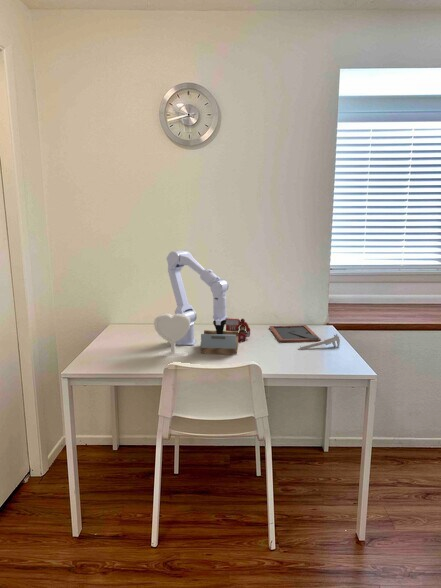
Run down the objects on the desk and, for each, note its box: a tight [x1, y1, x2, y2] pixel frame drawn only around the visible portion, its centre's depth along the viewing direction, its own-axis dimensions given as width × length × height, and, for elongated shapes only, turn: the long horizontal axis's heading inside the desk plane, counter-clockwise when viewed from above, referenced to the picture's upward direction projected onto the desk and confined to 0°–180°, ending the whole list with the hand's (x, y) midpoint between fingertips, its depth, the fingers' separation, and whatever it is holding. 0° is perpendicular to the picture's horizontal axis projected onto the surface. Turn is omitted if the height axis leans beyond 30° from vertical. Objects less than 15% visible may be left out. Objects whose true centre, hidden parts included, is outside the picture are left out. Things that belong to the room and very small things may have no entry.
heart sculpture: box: [153, 312, 191, 357], centre depth 182 cm, size 16×5×18 cm, turn 83°
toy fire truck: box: [225, 317, 251, 342], centre depth 203 cm, size 7×12×10 cm, turn 82°
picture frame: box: [269, 324, 322, 344], centre depth 211 cm, size 20×2×25 cm
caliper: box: [297, 333, 341, 351], centre depth 190 cm, size 20×1×6 cm, turn 102°
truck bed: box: [200, 329, 239, 355], centre depth 189 cm, size 16×12×7 cm
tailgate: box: [200, 333, 236, 349], centre depth 181 cm, size 15×2×6 cm, turn 84°
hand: (219, 336), depth 187 cm, fingers closed
